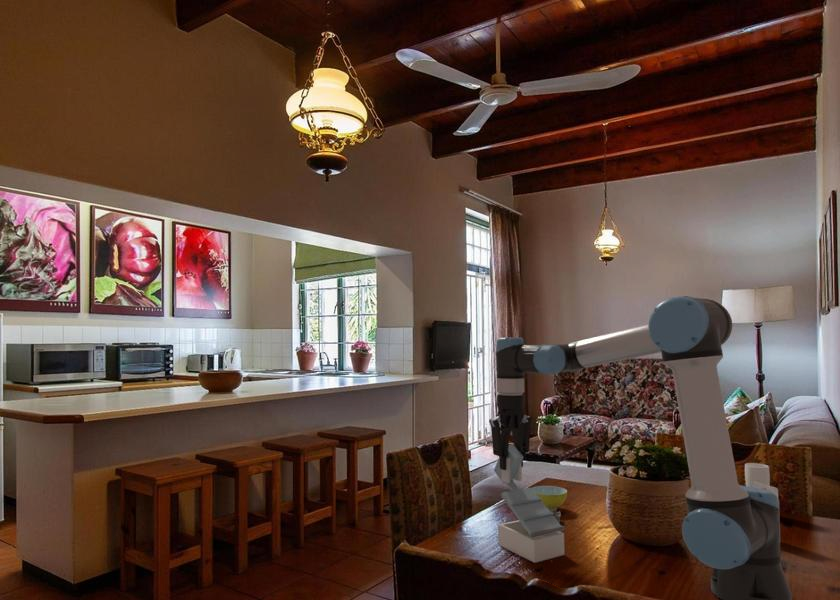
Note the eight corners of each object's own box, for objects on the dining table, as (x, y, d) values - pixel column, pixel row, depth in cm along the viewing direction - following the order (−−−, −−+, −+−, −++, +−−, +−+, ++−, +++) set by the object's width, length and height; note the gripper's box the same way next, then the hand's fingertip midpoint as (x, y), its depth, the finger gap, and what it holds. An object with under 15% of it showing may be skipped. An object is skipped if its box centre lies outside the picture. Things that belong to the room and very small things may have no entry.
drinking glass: (741, 511, 182) (739, 464, 183) (755, 509, 185) (753, 462, 186) (761, 518, 176) (760, 468, 177) (776, 515, 178) (774, 466, 179)
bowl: (525, 506, 188) (524, 486, 189) (555, 502, 192) (555, 484, 192) (542, 516, 177) (542, 496, 178) (574, 513, 181) (574, 493, 181)
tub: (564, 557, 144) (564, 533, 145) (534, 565, 139) (534, 540, 140) (527, 540, 156) (527, 518, 157) (498, 547, 151) (498, 524, 152)
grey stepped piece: (563, 531, 145) (577, 506, 142) (531, 539, 140) (544, 513, 136) (513, 467, 163) (524, 443, 159) (482, 472, 158) (493, 446, 154)
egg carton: (556, 532, 164) (556, 517, 164) (530, 528, 167) (530, 514, 167) (563, 520, 174) (562, 507, 174) (538, 517, 177) (538, 504, 177)
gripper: (524, 391, 164) (525, 474, 163) (478, 394, 156) (479, 481, 154) (542, 393, 158) (543, 479, 156) (495, 396, 149) (496, 488, 148)
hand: (511, 480), depth 155 cm, fingers closed on grey stepped piece, 3 cm apart
